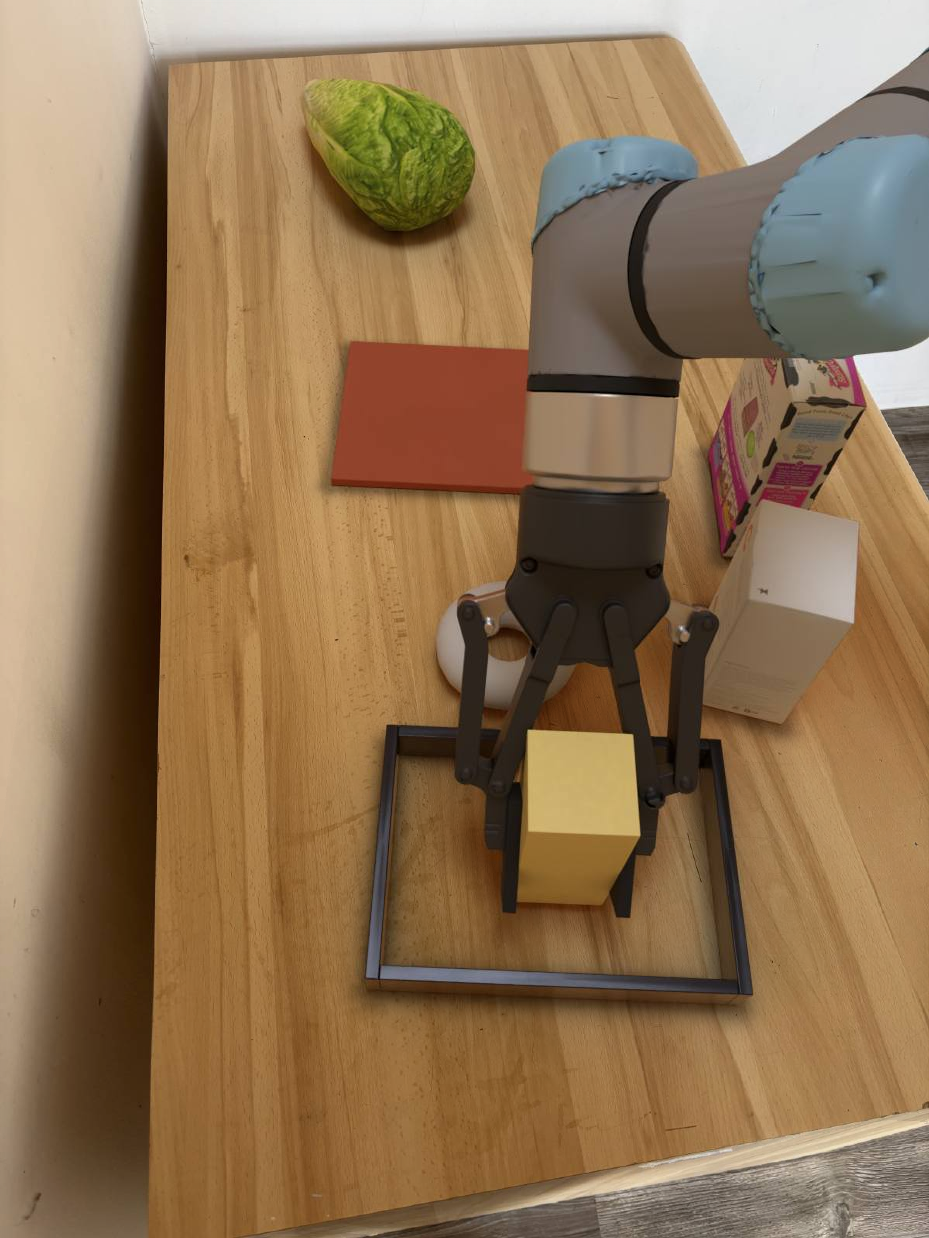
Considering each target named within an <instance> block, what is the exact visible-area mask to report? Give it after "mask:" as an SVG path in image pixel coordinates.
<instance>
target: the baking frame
mask: <svg viewBox="0 0 929 1238" xmlns="http://www.w3.org/2000/svg"><path fill="white" fill-rule="evenodd" d="M457 729H458V726H436V725H416V724H413V725H411V724H390V723H389V724H386V726H385V737H384V748H383V760H382V771H381V781H380V793H379V794H380V795H379V803H378V804H379V805H378V817H377V829H376V840H375V852H374V863H373V876H372V888H371V897H370V898H371V899H370V910H369V922H368V934H367V944H366V945H367V946H366V957H365V967H364V968H365V969H364V981H365V985H366V988H367V990H369V991H387V992H388V991H390V992H413V993H416V992H417V993H434V994H435V993H439V994H459V995H460V994H461V995H483V996H484V995H486V996H487V995H488V996H508V997H509V996H511V997H532V998H534V997H535V998H554V999H555V998H558V999H559V998H560V999H584V1000H607V1001H628V1002H629V1001H631V1002H633V1001H634V1002H651V1003H652V1002H653V1003H655V1002H656V1003H677V1004H679V1003H680V1004H702V1005H703V1004H705V1005H728V1006H739V1005H740V1004H742V1003H743V1002H745V1001H747V1000H748V999H750V998H751V997H753V996H754V988H753V979H752V972H751V964H750V958H749V947H748V940H747V932H746V925H745V917H744V909H743V902H742V901H743V900H742V892H741V884H740V877H739V870H738V861H737V854H736V853H737V852H736V846H735V839H734V830H733V821H732V814H731V813H732V812H731V807H730V798H729V790H728V783H727V774H726V767H725V766H726V765H725V759H724V750H723V743H722V739H721V738H708V737H707V738H705V737H701V738H700V754H699V770H698V772H699V778H700V779H699V780H700V789H701V798H702V805H703V806H702V807H703V816H704V824H705V833H706V841H707V851H708V852H707V853H708V860H709V870H710V879H711V889H712V897H713V906H714V915H715V923H716V933H717V941H718V942H717V943H718V950H719V951H718V952H719V959H720V969H721V977H722V978H707V977H683V976H681V977H680V976H661V975H660V976H659V975H658V976H657V975H636V974H635V975H633V974H612V973H609V974H608V973H589V972H588V973H587V972H586V973H585V972H566V971H565V972H563V971H562V972H561V971H539V970H517V969H516V970H513V969H492V968H491V969H489V968H469V967H468V968H467V967H447V966H446V967H445V966H444V967H443V966H442V967H441V966H420V965H419V966H417V965H396V964H395V965H394V964H384V958H385V957H384V956H385V943H386V932H387V918H388V906H389V905H388V903H389V890H390V880H391V879H390V877H391V865H392V853H393V851H392V850H393V841H394V840H393V839H394V826H395V815H396V814H395V813H396V801H397V800H396V799H397V787H398V786H397V785H398V775H399V763H400V762H399V759H400V756H415V757H416V756H418V757H439V758H440V757H441V758H455V751H456V740H457ZM501 729H502V728H483V727H482V730H481V740H480V751H479V756H482V757H484V758H487V759H489V760H490V759H491V756H492V753H493V751H494V748H495V745H496V742H497V740H498V737H499V734H500V731H501ZM651 738H652V743H653V748H654V752H655V757H656V762H657V766H658V765H662V764H665V763H666V746H667V736H663V735H662V736H661V735H660V736H659V735H651Z"/></svg>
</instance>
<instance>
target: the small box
mask: <svg viewBox="0 0 929 1238" xmlns="http://www.w3.org/2000/svg"><path fill="white" fill-rule="evenodd" d="M860 525H861V523H860V522H859V521H857V520H853V519H848V518H845V517H840V516H835V515H831V514H827V513H823V512H819V511H814V510H810V509H809V510H806V509H802V508H797V507H793V506H789V505H785V504H781V503H776V502H772V501H768V500H765V499H762V500H761V501H760V503H759V505H758V507H757V509H756V511H755V513H754V515H753V517H752V519H751V521H750V523H749V526H748V528H747V530H746V532H745V534H744V536H743V538H742V540H741V542H740V544H739V547H738V549H737V551H736V553H735V555H734V557H733V558H731V561H730V563H729V565H728V568H727V570H726V572H725V574H724V576H723V578H722V579H721V583H720V584H719V587H718V588H717V590H716V593H715V595H714V597H713V598H712V600H711V603H710V605H709V607H708V608H707V609H708V610H710V611H711V612H712V613H713V614H715V615H716V616H717V618H718V619H719V623H720V624H719V628H718V631H717V633H716V635H715V638H714V640H713V642H712V644H711V647H710V649H709V651H708V653H707V656H706V658H705V674H704V690H703V706H706V707H710V708H715V709H718V710H722V711H727V712H730V713H734V714H738V715H742V716H746V717H750V718H754V719H759V720H763V721H767V722H771V723H775V724H778V725H782V724H783V723H785V721H786V720H787V719H788V717H789V716H790V714H791V713H792V712H793V710H794V709H795V707H796V706H797V704H798V703H799V701H800V700H801V699H802V697H803V696H804V695H805V693H806V691H808V689H809V687H810V686H811V685H812V684H813V682H814V681H815V679H816V678H817V676H818V675H819V674H820V672H821V671H822V670H823V668H824V667H825V666H826V663H827V662H828V661H829V660H830V658H831V657H832V655H833V654H834V653H835V651H836V650H837V648H838V647H839V646H840V644H841V643H842V641H843V640H844V639H845V637H846V636H847V634H848V633H849V632H850V631H851V629H852V628H853V626H854V625H855V624H856V608H857V607H856V605H857V587H858V586H857V585H858V567H859V566H858V565H859V547H860V546H859V544H860Z"/></svg>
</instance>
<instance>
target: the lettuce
mask: <svg viewBox="0 0 929 1238" xmlns="http://www.w3.org/2000/svg"><path fill="white" fill-rule="evenodd" d="M300 91H301V92H300V94H299V103H300V107H301V110H302V115H303V120H304V124H305V125H304V126H305V129H306V131H307V134H308V136H309V139H310V141H311V143H312V145H313V147H314V148H315V149H316V151H317V153H318V154H319V155H320V157H321V159H322V160H323V162H324V164H325V166H326V168H327V170H328V171H329V173H330V175H331V176H332V178H333V179H334V180H335V181H336V182H337V184H339V186H340V187H341V188H342V189H343V191H345V192H346V194H347V195H348V196H349V198H350V199H351V200H352V201H353V202H354V203H355V204H356V205H357V207H358V208H359V209H360V210H361V211H362V212H363V213H364V214H365V215H366V216H367V217H368V218H370V220H372V221H373V222H375V224H377V225H378V226H380V227H381V228H383V229H384V230H385V231H393V232H395V231H396V232H397V231H398V232H410V231H411V232H412V231H413V230H417V229H421V228H424V227H427V226H429V225H431V224H433V223H435V222H437V221H439V220H441V219H443V218H444V217H447V216H448V215H450V214H451V213H452V212H454V211H455V210H456V209H458V207H460V205H461V204H462V202H463V200H464V199H465V197H466V196H467V194H468V193H469V191H470V189H471V186H472V183H473V179H474V176H475V173H476V151H475V149H474V148H473V144H472V143H471V140H470V138H469V135H468V133H467V131H466V130H465V128H464V127H463V125H462V124H461V122H460V121H459V119H458V118H457V116H456V115H455V114H454V113H453V112H451V111H450V110H449V108H447V107H445V105H443V104H441V103H439V102H437V101H436V100H434V99H432V98H430V97H428V96H426V95H425V94H423V93H421V92H420V91H417V90H413V89H409V88H405V87H401V86H398V85H393V84H390V83H384V82H377V81H371V80H359V79H349V78H313V79H312V80H310V81H308V82H307V83H306V84H304V85H303V87H302V89H301V90H300Z"/></svg>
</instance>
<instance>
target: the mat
mask: <svg viewBox="0 0 929 1238" xmlns="http://www.w3.org/2000/svg"><path fill="white" fill-rule="evenodd" d="M348 350H349V351H348V356H347V358H348V359H347V365H346V371H345V379H344V385H343V393H342V398H341V406H340V411H339V412H340V413H339V420H338V421H339V422H338V427H337V434H336V440H335V441H336V442H335V448H334V455H333V461H332V469H331V476H330V481H331V485H332V486H348V487H365V488H366V487H367V488H368V487H369V488H388V489H409V490H411V489H412V490H433V491H450V492H452V491H453V492H474V493H493V494H494V493H495V494H512V495H513V494H515V495H516V494H517V495H520V491H522V490H524V486H525V485H529V484H533V475H531V474H527V473H526V472H525V471H524V470H523V469H522V468H521V467H522V451H523V435H524V418H525V402H526V393H528V392H530V391H527V378H528V377H529V376H527V369H528V349H523V348H522V349H519V348H502V347H501V348H499V347H482V346H481V347H480V346H479V347H477V346H459V345H457V346H456V345H441V344H439V345H438V344H417V343H402V342H401V343H399V342H377V341H358V340H350V345H349V349H348Z"/></svg>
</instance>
